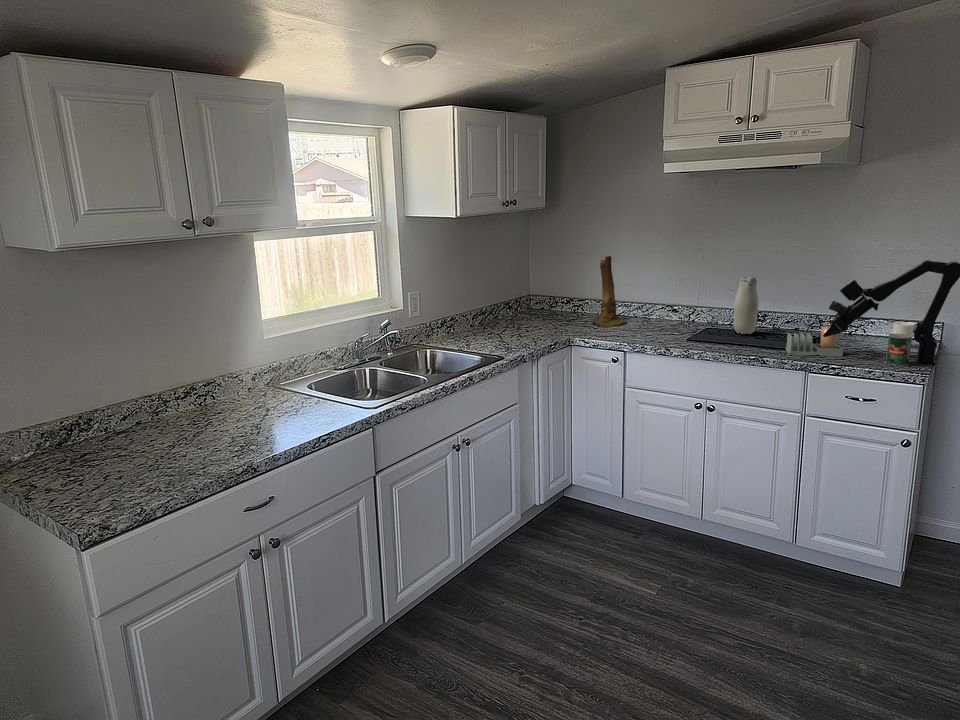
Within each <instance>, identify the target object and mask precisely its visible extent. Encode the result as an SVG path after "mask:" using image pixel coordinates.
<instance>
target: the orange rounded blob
mask: <svg viewBox="0 0 960 720" xmlns="http://www.w3.org/2000/svg"><path fill="white" fill-rule="evenodd" d="M830 327H831V326H830V325H828V326H827V325H825V326H824V325H823V326H822V327H821V334H820V343H819V344H820V348H825V349H835V344H836V343H837V342H836V341H837V334H835V335H831V336H828V337H824V336H823V334H824V333H825V332H826V331H827V330H828V329H829V328H830Z"/></svg>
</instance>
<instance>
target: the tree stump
mask: <svg viewBox="0 0 960 720" xmlns="http://www.w3.org/2000/svg"><path fill="white" fill-rule="evenodd" d="M599 268H600V274H601V285H602V286H601V287H602V289H601V290H602V291H601V293H602V300H601V301H602V302H601V304H600V315H599V316H597V317H595V318H593V319H592V324H595V326H598V327H614V326H622V325H624V324H628V320H626V319H622V318H620V317H619V316H617V315H618V313H617V302H616V301H617V300H616V296H615V283H614V279H613V277H614V276H613V272H612V256H611V255H610V256H609V255H608V256H607V255H606V256H605V258H604V259H600V264H599Z"/></svg>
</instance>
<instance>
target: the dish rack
mask: <svg viewBox="0 0 960 720" xmlns="http://www.w3.org/2000/svg"><path fill="white" fill-rule="evenodd" d="M786 336H787V337H786V338H787V339H786V346H785V351H786V352H787V354H788V355H789V354H791V355H790V356H804V355H820V356H819V357H839V356H842V357H843V354H844V353H843V352H844V349H843V348H842V347H841V346H840V345H838V344H837V343H835V349H825V348H820V343H813V340H814V337H813V336H812V335H811V334H810V333H808V332H807V333H806V336H805V335H804V334H803V333H802V332H801V333H800V334H799V335H798V334H797V333H796V332H794V333H793V336H792V334H791V333H790V332H787V335H786Z"/></svg>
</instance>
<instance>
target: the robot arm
mask: <svg viewBox="0 0 960 720" xmlns="http://www.w3.org/2000/svg"><path fill="white" fill-rule="evenodd" d="M928 272H931V273H935V274H940V275H941V278H940V284H939V286H938V288H937V291H936V292H935V294H934V297H933V299H932V301H931V303H930V305H929V308H928V309H927V311H926V313H925V316H924V317H923V318H922V320H921V321H919V320H916V323H915V327H914V329H913V339H914V340H915V341H916V342H917V343H918V344H919V345H918V347H917V353H916V354H917V356H916V358H915V357H913V361H915V362H917V363H918V364H932V365H933V364H935V365H936V364H938V361H936V360H935V356H936V350H937V345H938V342H937V341H938V340H937V339H936V338H935V337H934V336H933V332H934V329H935V323H936V322H937V318H938V316H939V315H940V313H941V310H942V308H943V307H944V304H945V301H946V300H947V298H948V297H949V293H950V292H951V290H952V287H954V285H955V284H957V281H959V279H960V262H958V261H955V260H952V261H949V262H942V261H934V260H931V259H928V260H927V259H926V260H923V261H922V262H921V263H920V264H917V265H916V266H914V267H913V268H911V269H909V270H907V271H905V272H904V273H902V274H900V275H899V276H897V277H895V278H893V279H891V280H888V281H885V282H882V283H881V284H880V283H879V284H878V285H875V286H874V287H871V288H863V287H861V285H860V284H859V283H858V282H857V280H856V279H853V280H852V281H851V282H849V283H848V284H846V285H844V286H843V287H842V288H841V289H839V292H840V293H841V294H842V295H843V296H844V297H845V298H846V299H847V300H848V301H849V302H850V301H851V302H852V301H853V302H854V303H852V304H851V305H847V306H846V305H844V304H842V303H840V302H839V301H836V300H832V302H831V304H830V305H829V307H828V309H829V310H831V311H834V312H836V314H835V315H834V318H833V319H832V321H831V324H830V325H829V326H831V327H830V328H829V329H828V330H827V331H826V332H825V333H824V334H823V336H824V337H828V336H831V335H835V334H836V335H838V334H842V333H845V332H847V331H848V330H849V328H850V326H851V325H852V324H853V323H854V322H855V321H857V320H859V319H860V318H861V317H862V316H863V315H865V314H866V313H867V312H869V311H870V310H872V309H874V310H875V311H876V312H878V310H879V305H880V303H878V302H883V301H884V300H886V299H887V298H889V297H890V296H891V295H892V294H893V293H894V292H896V291H897V290H898V289H899V288H902V287H903V286H904V285H907V284H908V283H910V282H912V281H914V280H915V279H917V278H919V277H920V276H922V275H924V274H926V273H928ZM875 301H876V302H875Z"/></svg>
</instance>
